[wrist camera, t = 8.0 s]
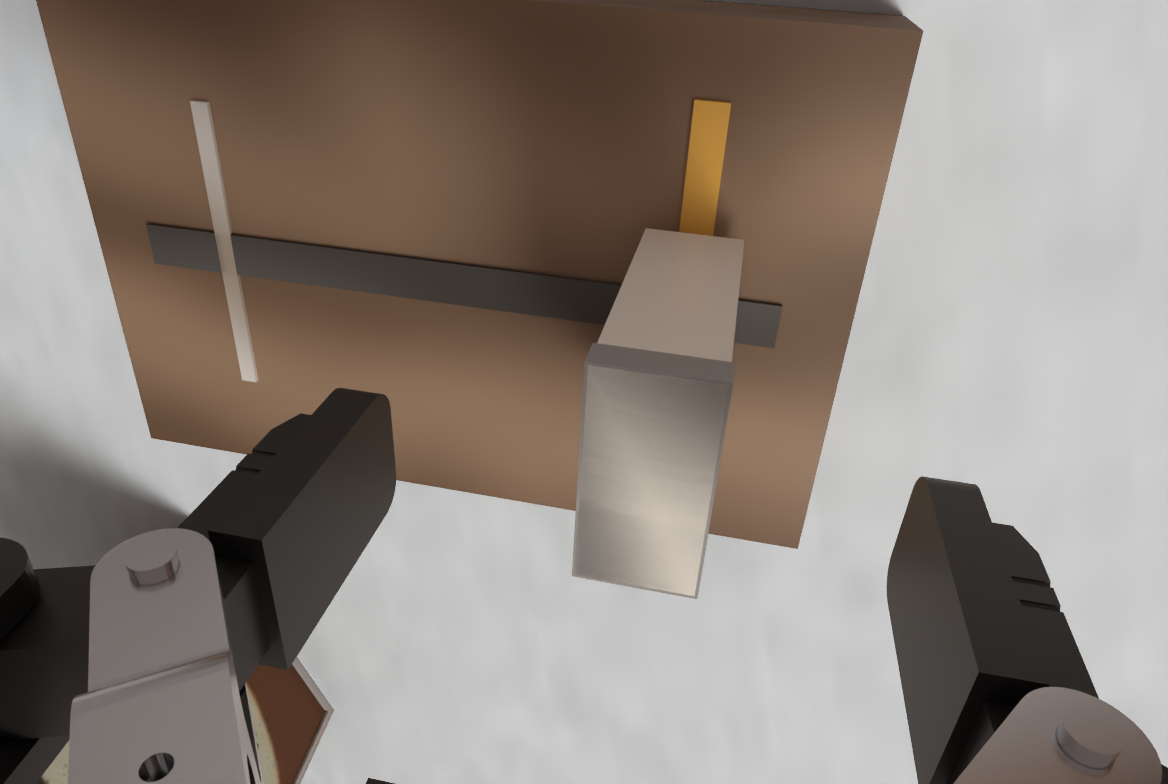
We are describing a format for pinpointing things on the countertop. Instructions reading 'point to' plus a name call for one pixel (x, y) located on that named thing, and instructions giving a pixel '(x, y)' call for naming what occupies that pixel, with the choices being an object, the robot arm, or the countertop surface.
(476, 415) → the fader console
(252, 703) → the food container
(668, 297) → the fader tab
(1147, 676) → the countertop surface
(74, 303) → the countertop surface
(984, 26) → the countertop surface
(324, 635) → the countertop surface
